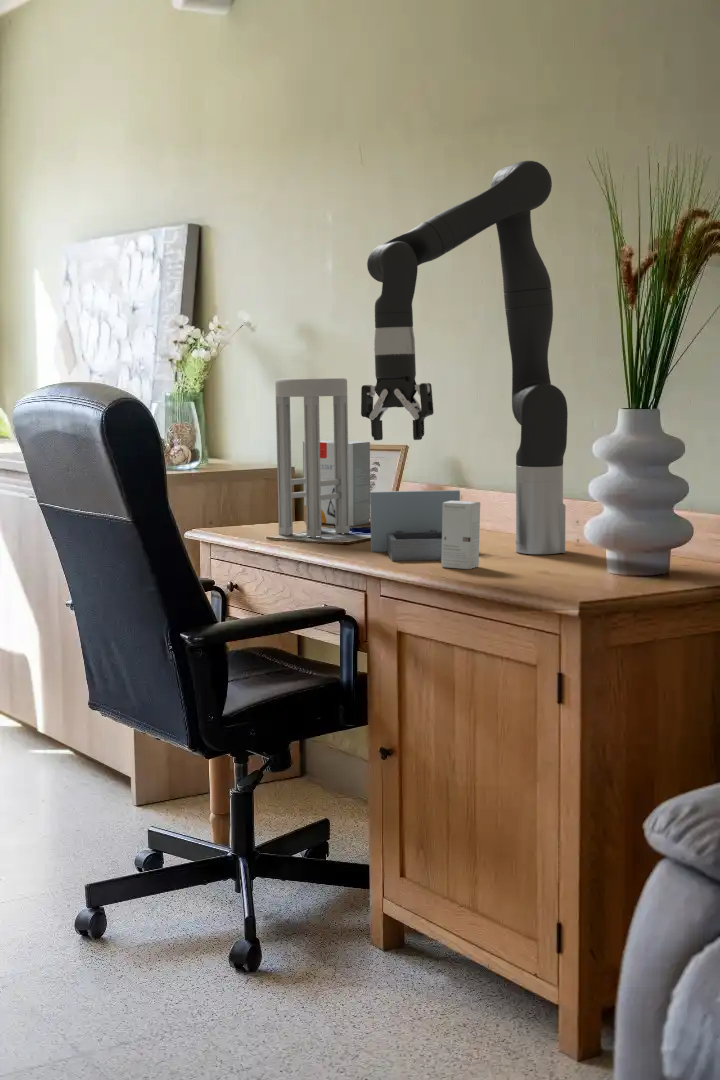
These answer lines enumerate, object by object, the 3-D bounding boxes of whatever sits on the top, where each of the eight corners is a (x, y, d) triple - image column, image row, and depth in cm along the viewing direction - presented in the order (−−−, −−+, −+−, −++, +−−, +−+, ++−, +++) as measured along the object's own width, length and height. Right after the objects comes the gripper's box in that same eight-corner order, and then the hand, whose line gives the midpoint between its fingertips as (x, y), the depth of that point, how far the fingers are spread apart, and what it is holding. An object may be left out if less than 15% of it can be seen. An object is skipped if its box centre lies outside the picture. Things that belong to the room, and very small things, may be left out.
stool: (362, 533, 295) (360, 377, 291) (313, 539, 284) (310, 378, 280) (314, 528, 306) (311, 378, 301) (265, 534, 294) (262, 379, 290)
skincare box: (440, 567, 239) (439, 502, 238) (450, 564, 243) (450, 500, 241) (471, 569, 236) (470, 503, 235) (481, 566, 240) (480, 501, 239)
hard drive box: (302, 522, 319) (300, 441, 316) (322, 519, 325) (320, 439, 322) (353, 526, 309) (351, 442, 307) (372, 523, 315) (371, 440, 313)
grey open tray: (445, 550, 264) (445, 529, 263) (454, 559, 249) (454, 537, 249) (386, 551, 263) (386, 530, 262) (391, 561, 249) (391, 539, 248)
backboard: (459, 548, 265) (458, 490, 264) (460, 549, 264) (459, 490, 262) (371, 550, 264) (370, 491, 263) (371, 551, 263) (370, 492, 261)
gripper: (438, 351, 241) (440, 438, 243) (372, 354, 248) (375, 439, 251) (418, 351, 235) (421, 441, 237) (351, 354, 242) (354, 441, 244)
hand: (397, 440), depth 244 cm, fingers open, 8 cm apart
